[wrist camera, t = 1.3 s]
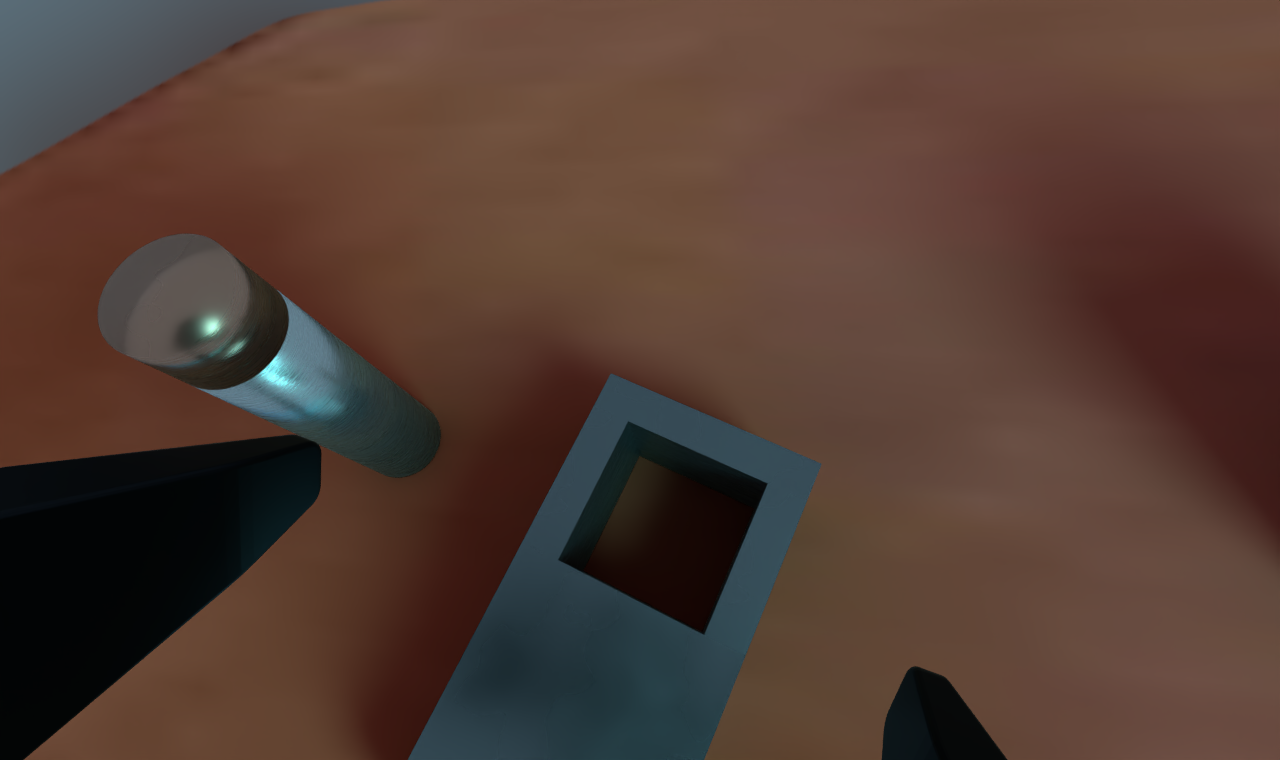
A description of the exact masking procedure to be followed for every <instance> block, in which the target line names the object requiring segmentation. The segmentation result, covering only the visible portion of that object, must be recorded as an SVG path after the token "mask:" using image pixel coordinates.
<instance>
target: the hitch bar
mask: <svg viewBox="0 0 1280 760" xmlns="http://www.w3.org/2000/svg"><path fill="white" fill-rule="evenodd" d="M639 456H641V457H643V458H645V459H648V460H650V461H652V462H654V463H656V464H658V465H661V466H663V467H665V468H667V469H669V470H672V471H674V472H676V473H678V474H680V475H683V476H685V477H687V478H689V479H691V480H693V481H696V482H698V483H700V484H702V485H704V486H707V487H709V488H711V489H713V490H715V491H718V492H720V493H722V494H724V495H726V496H728V497H731V498H733V499H735V500H737V501H739V502H742V503H744V504H746V505H748V506H750V507H753V508H754V510H753V513H752V515H751V517H750V520H749V522H748V524H747V527H746V529H745V532H744V534H743V536H742V539H741V541H740V543H739V546H738V548H737V551H736V553H735V555H734V558H733V560H732V562H731V565H730V567H729V570H728V572H727V574H726V577H725V579H724V581H723V584H722V586H721V588H720V591H719V593H718V596H717V598H716V600H715V603H714V605H713V607H712V610H711V612H710V615H709V617H708V619H707V622H706V624H705V626H704V629H703V631H702V632H701V631H699V630H697V629H695V628H693V627H692V626H690V625H688V624H686V623H684V622H682V621H680V620H678V619H676V618H674V617H672V616H670V615H668V614H666V613H664V612H662V611H660V610H658V609H656V608H654V607H652V606H651V605H649V604H647V603H645V602H643V601H641V600H639V599H637V598H635V597H633V596H631V595H629V594H627V593H625V592H623V591H621V590H619V589H617V588H615V587H613V586H611V585H610V584H608V583H606V582H604V581H602V580H600V579H598V578H596V577H594V576H592V575H590V574H588V573H586V572H584V571H583V570H584V568H585V566H586V564H587V562H588V560H589V558H590V556H591V554H592V552H593V550H594V548H595V546H596V544H597V542H598V540H599V538H600V536H601V534H602V532H603V529H604V527H605V525H606V523H607V521H608V519H609V517H610V515H611V513H612V511H613V509H614V507H615V505H616V503H617V501H618V499H619V497H620V495H621V493H622V491H623V489H624V487H625V485H626V483H627V480H628V478H629V476H630V474H631V472H632V470H633V468H634V466H635V464H636V462H637V460H638V458H639ZM820 467H821V463H818V462H816V461H814V460H811V459H809V458H807V457H804V456H802V455H800V454H797V453H795V452H793V451H790V450H788V449H786V448H783V447H781V446H779V445H776V444H774V443H772V442H769V441H767V440H765V439H762V438H760V437H758V436H756V435H753V434H751V433H749V432H746V431H744V430H742V429H739V428H737V427H735V426H732V425H730V424H728V423H725V422H723V421H721V420H718V419H716V418H714V417H711V416H709V415H707V414H704V413H702V412H700V411H697V410H695V409H693V408H690V407H688V406H686V405H683V404H681V403H679V402H676V401H674V400H672V399H670V398H667V397H665V396H663V395H660V394H658V393H656V392H653V391H651V390H649V389H646V388H644V387H642V386H639V385H637V384H635V383H632V382H630V381H628V380H625V379H623V378H621V377H618V376H616V375H614V374H610V376H609V378H608V380H607V382H606V384H605V386H604V388H603V390H602V391H601V393H600V395H599V397H598V399H597V401H596V403H595V405H594V407H593V409H592V410H591V412H590V414H589V416H588V418H587V420H586V422H585V424H584V426H583V428H582V429H581V431H580V433H579V435H578V437H577V439H576V441H575V443H574V445H573V447H572V448H571V450H570V452H569V454H568V456H567V458H566V460H565V462H564V464H563V466H562V467H561V469H560V471H559V473H558V475H557V477H556V479H555V481H554V483H553V485H552V486H551V488H550V490H549V492H548V494H547V496H546V498H545V500H544V502H543V504H542V506H541V507H540V509H539V511H538V513H537V515H536V517H535V519H534V521H533V523H532V525H531V526H530V528H529V530H528V532H527V534H526V536H525V538H524V540H523V542H522V544H521V545H520V547H519V549H518V551H517V553H516V555H515V557H514V559H513V561H512V563H511V564H510V566H509V568H508V570H507V572H506V574H505V576H504V578H503V580H502V582H501V583H500V585H499V587H498V589H497V591H496V593H495V595H494V597H493V599H492V601H491V602H490V604H489V606H488V608H487V610H486V612H485V614H484V616H483V618H482V620H481V621H480V623H479V625H478V627H477V629H476V631H475V633H474V635H473V637H472V639H471V641H470V642H469V644H468V646H467V648H466V650H465V652H464V654H463V656H462V658H461V660H460V661H459V663H458V665H457V667H456V669H455V671H454V673H453V675H452V677H451V679H450V680H449V682H448V684H447V686H446V688H445V690H444V692H443V694H442V696H441V698H440V699H439V701H438V703H437V705H436V707H435V709H434V711H433V713H432V715H431V717H430V718H429V720H428V722H427V724H426V726H425V728H424V730H423V732H422V734H421V736H420V737H419V739H418V741H417V743H416V745H415V747H414V749H413V751H412V753H411V755H410V756H409V758H408V760H704V758H705V756H706V753H707V751H708V748H709V746H710V743H711V741H712V738H713V736H714V733H715V731H716V728H717V726H718V723H719V721H720V718H721V716H722V713H723V711H724V708H725V706H726V703H727V701H728V698H729V696H730V693H731V691H732V688H733V685H734V683H735V680H736V678H737V675H738V673H739V670H740V668H741V665H742V663H743V660H744V658H745V655H746V653H747V650H748V648H749V645H750V643H751V640H752V638H753V635H754V633H755V630H756V628H757V625H758V623H759V620H760V618H761V615H762V612H763V610H764V607H765V605H766V602H767V600H768V597H769V595H770V592H771V590H772V587H773V585H774V582H775V580H776V577H777V575H778V572H779V570H780V567H781V565H782V562H783V560H784V557H785V555H786V552H787V550H788V547H789V545H790V542H791V539H792V537H793V534H794V532H795V529H796V527H797V524H798V522H799V519H800V517H801V514H802V512H803V509H804V507H805V504H806V502H807V499H808V497H809V494H810V492H811V489H812V487H813V484H814V482H815V479H816V477H817V474H818V472H819V469H820Z"/></svg>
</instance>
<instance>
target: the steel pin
mask: <svg viewBox="0 0 1280 760" xmlns="http://www.w3.org/2000/svg"><path fill="white" fill-rule="evenodd" d="M98 324H99V327H100V331H101V333H102V335H103V337H104V339H105V340H106V341H107V343H108V344H109V345H110V346H112V347H113V348H114V349H115V350H117V351H119V352H120V353H123V354H125V355H127V356H129V357H131V358H133V359H135V360H138V361H140V362H142V363H144V364H146V365H148V366H151V367H153V368H155V369H157V370H159V371H161V372H163V373H166V374H168V375H170V376H172V377H174V378H176V379H179V380H181V381H183V382H185V383H187V384H189V385H191V386H194V387H196V388H198V389H200V390H202V391H204V392H207V393H209V394H211V395H213V396H215V397H217V398H219V399H222V400H224V401H226V402H228V403H230V404H232V405H234V406H237V407H239V408H241V409H243V410H245V411H247V412H250V413H252V414H254V415H256V416H258V417H260V418H262V419H265V420H267V421H269V422H271V423H273V424H275V425H278V426H280V427H282V428H284V429H286V430H288V431H290V432H293V433H295V434H297V435H299V436H301V437H304V438H307V439H309V440H312V441H315V442H316V443H317V444H318V445H321V446H323V447H325V448H327V449H329V450H331V451H333V452H336V453H338V454H340V455H342V456H344V457H346V458H349V459H351V460H353V461H355V462H357V463H359V464H361V465H364V466H366V467H368V468H370V469H372V470H374V471H377V472H379V473H381V474H383V475H385V476H389V477H394V478H401V477H407V476H410V475H413V474H415V473H417V472H419V471H421V470H422V469H423V468H425V467H426V466H427V465H428V464H429V463H430V462H431V460H432V459H433V458H434V456H435V454H436V452H437V450H438V448H439V444H440V439H441V430H440V426H439V422H438V420H437V418H436V417H435V415H434V414H433V413H432V412H431V411H430V410H429V409H427V408H426V407H425V406H423V405H422V404H421V403H420V402H418V401H417V400H416V399H415V398H413V397H412V396H411V395H410V394H408V393H407V392H406V391H404V390H403V389H402V388H401V387H399V386H398V385H397V384H396V383H394V382H393V381H392V380H391V379H389V378H388V377H387V376H385V375H384V374H383V373H382V372H380V371H379V370H378V369H377V368H375V367H374V366H373V365H372V364H370V363H369V362H368V361H366V360H365V359H364V358H363V357H361V356H360V355H359V354H358V353H356V352H355V351H354V350H353V349H351V348H350V347H349V346H347V345H346V344H345V343H344V342H342V341H341V340H340V339H339V338H337V337H336V336H335V335H334V334H332V333H331V332H330V331H328V330H327V329H326V328H325V327H323V326H322V325H321V324H320V323H318V322H317V321H316V320H314V319H313V318H312V317H311V316H309V315H308V314H307V313H306V312H304V311H303V310H302V309H301V308H299V307H298V306H297V305H295V304H294V303H293V302H292V301H290V300H289V299H288V298H287V297H285V296H284V295H283V294H282V293H280V292H279V291H278V290H276V289H275V288H274V287H273V286H271V285H270V284H269V283H268V282H266V281H265V280H264V279H263V278H261V277H260V276H259V275H257V274H256V273H255V272H254V271H252V270H251V269H250V268H249V267H247V266H246V265H245V264H244V263H242V262H241V261H240V260H238V259H237V258H236V257H235V256H233V255H232V254H231V253H230V252H228V251H227V250H226V249H225V248H223V247H222V246H221V245H219V244H218V243H217V242H216V241H214V240H212V239H210V238H208V237H205V236H201V235H196V234H177V235H171V236H167V237H163V238H160V239H158V240H155V241H153V242H151V243H149V244H147V245H145V246H143V247H141V248H140V249H138V250H137V251H135V252H134V253H133V254H131V255H130V256H129V257H128V258H127V259H126V260H124V261H123V262H122V263H121V264H120V266H119V267H118V268H117V269H116V270H115V271H114V273H113V274H112V275H111V277H110V278H109V280H108V282H107V283H106V285H105V287H104V290H103V292H102V294H101V298H100V301H99V306H98Z"/></svg>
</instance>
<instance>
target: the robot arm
mask: <svg viewBox="0 0 1280 760" xmlns="http://www.w3.org/2000/svg"><path fill="white" fill-rule="evenodd" d="M320 487H321V449H320V446H319V445H318V444H317V443H316V442H315V441H312V440H309V439H307V438H304V437H301V436H298V435H284V436H275V437H266V438H257V439H248V440H239V441H231V442H222V443H213V444H204V445H195V446H186V447H177V448H169V449H160V450H151V451H142V452H133V453H124V454H116V455H107V456H98V457H89V458H80V459H71V460H63V461H54V462H45V463H36V464H27V465H18V466H9V467H2V468H0V760H24V759H25V758H26V757H27V756H29V755H30V754H31V753H32V752H33V751H34V750H36V749H37V748H38V747H39V746H40V745H42V744H43V743H44V742H45V741H46V740H48V739H49V738H50V737H51V736H52V735H53V734H55V733H56V732H57V731H58V730H59V729H61V728H62V727H63V726H64V725H65V724H66V723H68V722H69V721H70V720H71V719H72V718H74V717H75V716H76V715H77V714H78V713H80V712H81V711H82V710H83V709H84V708H85V707H87V706H88V705H89V704H90V703H91V702H93V701H94V700H95V699H96V698H97V697H98V696H100V695H101V694H102V693H103V692H104V691H106V690H107V689H108V688H109V687H110V686H112V685H113V684H114V683H115V682H116V681H117V680H119V679H120V678H121V677H122V676H123V675H125V674H126V673H127V672H128V671H129V670H131V669H132V668H133V667H134V666H135V665H136V664H138V663H139V662H140V661H141V660H142V659H144V658H145V657H146V656H147V655H148V654H149V653H151V652H152V651H153V650H154V649H155V648H157V647H158V646H159V645H160V644H161V643H163V642H164V641H165V640H166V639H167V638H168V637H170V636H171V635H172V634H173V633H174V632H176V631H177V630H178V629H179V628H180V627H181V626H183V625H184V624H185V623H186V622H187V621H189V620H190V619H191V618H192V617H193V616H195V615H196V614H197V613H198V612H199V611H200V610H202V609H203V608H204V607H205V606H206V605H208V604H209V603H210V602H211V601H212V600H213V599H215V598H216V597H217V596H218V595H219V594H221V593H222V592H223V591H224V590H225V589H227V588H228V587H229V586H230V585H231V584H232V583H233V582H235V581H236V580H237V579H238V578H239V577H240V576H241V575H242V574H243V573H244V572H246V571H247V570H248V569H249V568H250V567H251V566H252V565H253V564H254V563H255V562H256V561H257V560H258V559H259V558H260V557H261V556H262V555H263V554H264V553H265V552H266V551H267V550H268V549H269V548H270V547H271V546H272V545H273V544H274V543H275V542H276V541H277V540H278V539H279V538H280V537H281V536H282V535H283V534H284V533H285V532H286V531H287V530H288V529H289V528H290V527H291V526H292V525H293V524H294V523H295V522H296V520H297V519H298V518H299V517H300V516H301V515H302V514H303V513H304V512H305V511H306V510H307V509H308V508H309V507H310V506H311V505H312V504H313V503H314V502H315V500H316V499H317V497H318V495H319V492H320ZM882 760H1007V759H1006V757H1005V756H1004V754H1003V753H1002V752H1001V750H1000V749H999V748H998V746H997V745H996V744H995V742H994V741H993V740H992V738H991V737H990V736H989V734H988V733H987V732H986V730H985V729H984V727H983V726H982V725H981V723H980V722H979V721H978V719H977V718H976V717H975V715H974V714H973V713H972V711H971V710H970V709H969V707H968V706H967V705H966V703H965V702H964V701H963V699H962V698H961V696H960V695H959V694H958V692H957V691H956V690H955V688H954V687H953V686H952V684H951V683H950V682H949V681H948V680H947V679H946V678H945V677H944V676H942V675H939V674H936V673H934V672H931V671H928V670H926V669H923V668H920V667H917V666H914V667H911V668H910V669H909V670H908V671H907V673H906V674H905V677H904V679H903V681H902V683H901V685H900V687H899V689H898V692H897V694H896V696H895V698H894V700H893V702H892V704H891V707H890V709H889V711H888V714H887V717H886V721H885V726H884V735H883V750H882Z"/></svg>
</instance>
